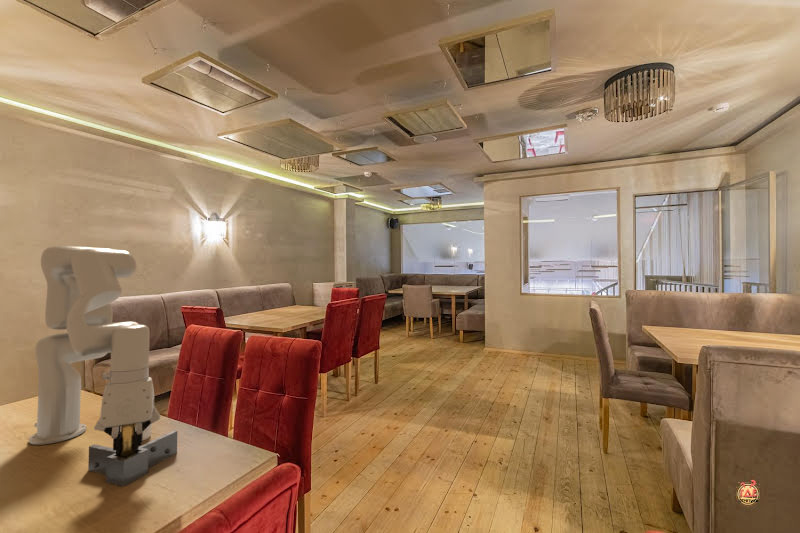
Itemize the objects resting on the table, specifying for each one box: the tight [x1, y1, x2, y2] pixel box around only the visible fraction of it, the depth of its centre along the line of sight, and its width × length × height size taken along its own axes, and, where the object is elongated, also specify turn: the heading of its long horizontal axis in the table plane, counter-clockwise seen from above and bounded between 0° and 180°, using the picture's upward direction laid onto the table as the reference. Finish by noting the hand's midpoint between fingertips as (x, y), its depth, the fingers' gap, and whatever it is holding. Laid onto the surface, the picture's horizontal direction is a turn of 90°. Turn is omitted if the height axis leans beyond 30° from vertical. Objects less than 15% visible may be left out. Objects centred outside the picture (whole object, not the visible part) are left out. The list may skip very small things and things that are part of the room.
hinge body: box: [87, 430, 178, 487], centre depth 91 cm, size 16×16×6 cm
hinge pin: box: [120, 423, 136, 458], centre depth 85 cm, size 4×4×13 cm
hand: (127, 449), depth 85 cm, fingers closed on hinge pin, 2 cm apart
